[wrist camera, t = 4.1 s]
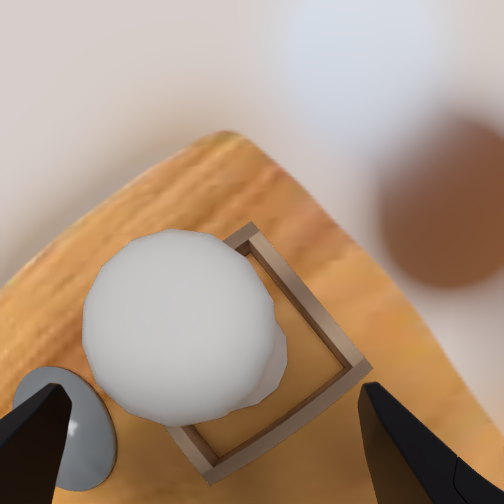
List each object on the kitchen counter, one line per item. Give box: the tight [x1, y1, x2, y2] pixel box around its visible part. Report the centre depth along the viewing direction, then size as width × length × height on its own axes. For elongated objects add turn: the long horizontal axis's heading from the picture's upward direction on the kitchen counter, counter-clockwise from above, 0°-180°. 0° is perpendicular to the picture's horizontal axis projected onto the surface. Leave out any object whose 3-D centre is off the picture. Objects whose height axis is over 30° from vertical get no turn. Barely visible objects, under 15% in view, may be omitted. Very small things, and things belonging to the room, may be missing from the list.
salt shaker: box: [82, 229, 288, 427], centre depth 12 cm, size 6×6×13 cm
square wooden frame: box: [162, 221, 373, 485], centre depth 17 cm, size 11×11×2 cm
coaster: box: [12, 366, 117, 491], centre depth 16 cm, size 9×9×1 cm
